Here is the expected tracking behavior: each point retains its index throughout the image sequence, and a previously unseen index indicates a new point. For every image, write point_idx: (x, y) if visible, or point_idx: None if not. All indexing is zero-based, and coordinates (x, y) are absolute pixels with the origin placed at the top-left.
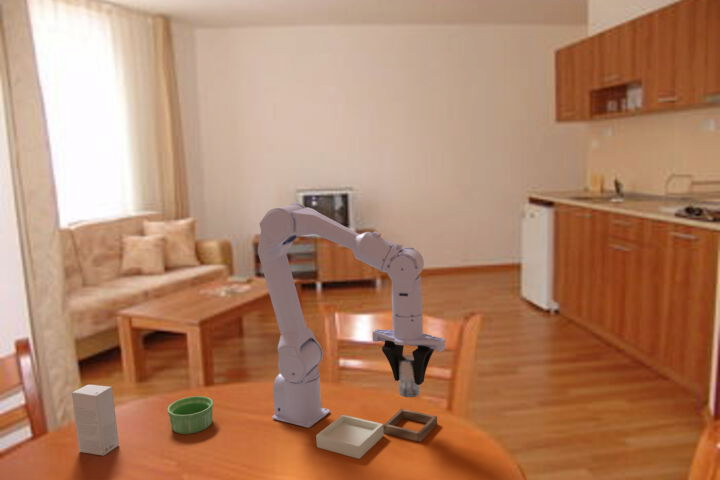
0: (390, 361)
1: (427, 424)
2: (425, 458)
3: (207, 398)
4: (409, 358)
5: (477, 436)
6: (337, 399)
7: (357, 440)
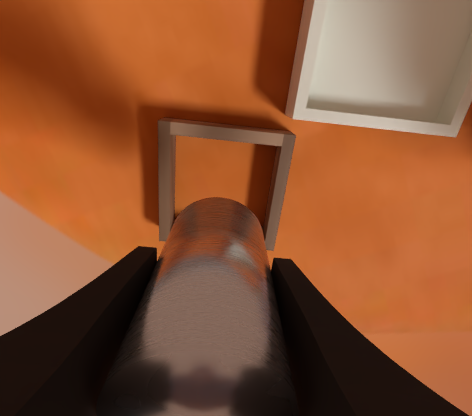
0: (361, 350)
1: (164, 187)
2: (107, 18)
3: None
4: None
5: (39, 202)
6: (469, 267)
7: (358, 2)
